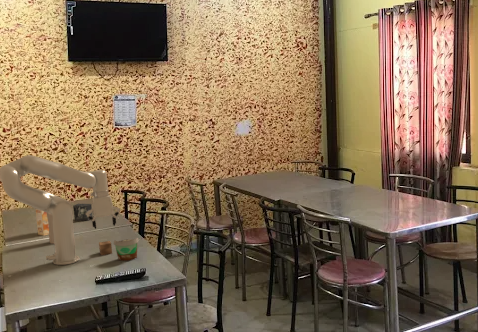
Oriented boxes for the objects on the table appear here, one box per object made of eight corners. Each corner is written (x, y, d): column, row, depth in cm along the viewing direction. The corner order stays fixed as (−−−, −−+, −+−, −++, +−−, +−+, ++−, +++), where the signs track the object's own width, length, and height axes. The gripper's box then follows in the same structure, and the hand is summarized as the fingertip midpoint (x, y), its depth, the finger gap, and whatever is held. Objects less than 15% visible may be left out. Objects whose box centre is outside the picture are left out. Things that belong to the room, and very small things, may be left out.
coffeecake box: (44, 236, 321) (40, 204, 319) (37, 234, 326) (34, 203, 323) (65, 230, 333) (62, 199, 331) (58, 228, 337) (55, 198, 335)
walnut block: (101, 255, 275) (100, 244, 274) (99, 252, 280) (98, 242, 279) (112, 253, 277) (111, 243, 276) (110, 251, 282) (109, 240, 281)
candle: (63, 245, 297) (60, 210, 295) (47, 243, 304) (43, 208, 302) (73, 242, 303) (70, 207, 301) (57, 239, 311) (53, 206, 308)
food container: (115, 263, 260) (113, 243, 259) (114, 259, 266) (113, 239, 265) (141, 259, 263) (139, 239, 262) (140, 256, 269) (138, 236, 268)
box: (74, 220, 359) (72, 205, 358) (79, 218, 365) (78, 203, 364) (87, 221, 356) (86, 205, 355) (93, 218, 362) (91, 203, 361)
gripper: (84, 197, 268) (88, 231, 270) (119, 192, 274) (122, 225, 277) (82, 195, 275) (86, 227, 277) (116, 190, 281) (120, 222, 283)
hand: (104, 226), depth 277 cm, fingers open, 9 cm apart
